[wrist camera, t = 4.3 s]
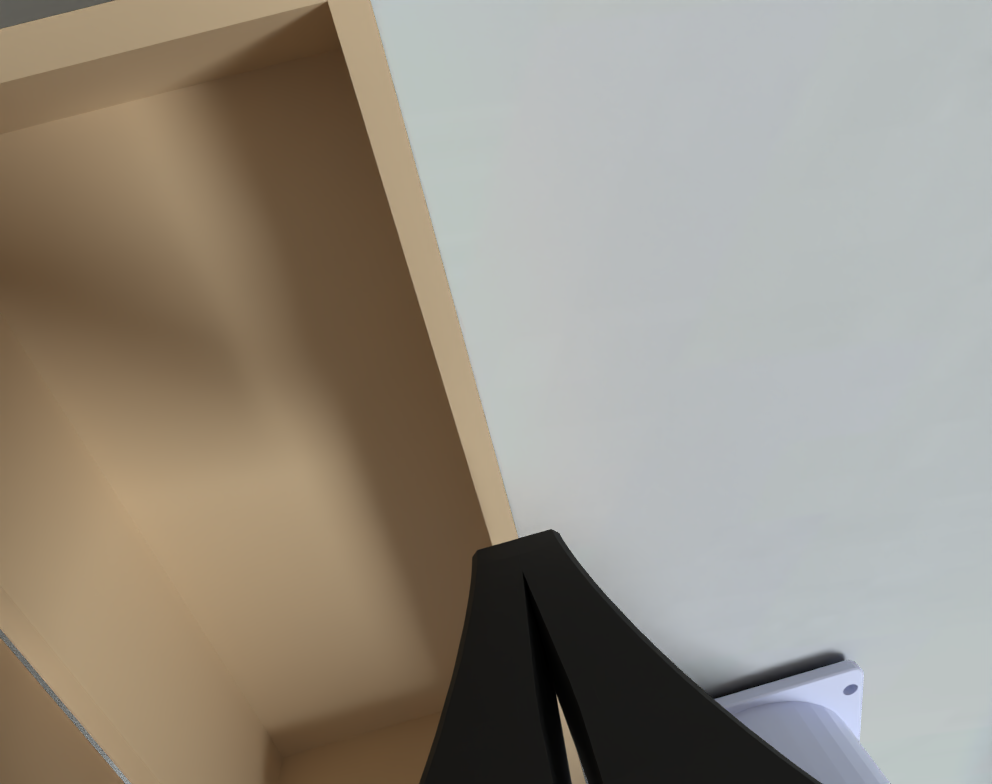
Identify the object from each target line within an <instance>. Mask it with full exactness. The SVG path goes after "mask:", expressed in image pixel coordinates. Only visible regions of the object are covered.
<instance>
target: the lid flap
mask: <svg viewBox="0 0 992 784" xmlns="http://www.w3.org/2000/svg"><path fill="white" fill-rule="evenodd" d="M0 784H125V783H124V782H123V781H122V779H121V778H120V777H119V776H118V775H117V774H116V772H115V771H114V770H113V769H112V768H111V767H110V765H109V764H108V763H107V762H106V761H105V760H104V758H103V757H102V756H101V755H100V754H99V753H98V751H97V750H96V749H95V748H94V747H93V746H92V744H91V743H90V742H89V741H88V740H87V739H86V737H85V736H84V735H83V734H82V733H81V732H80V730H79V729H78V728H77V727H76V726H75V724H74V723H73V722H72V721H71V720H70V719H69V717H68V716H67V715H66V714H65V713H64V712H63V710H62V709H61V708H60V707H59V706H58V705H57V703H56V702H55V701H54V700H53V699H52V698H51V696H50V695H49V694H48V693H47V692H46V691H45V689H44V688H43V687H42V686H41V685H40V684H39V682H38V681H37V680H36V679H35V678H34V677H33V675H32V674H31V673H30V672H29V671H28V670H27V668H26V667H25V666H24V665H23V664H22V662H21V661H20V660H19V659H18V658H17V657H16V655H15V654H14V653H13V652H12V651H11V650H10V648H9V647H8V646H7V645H6V644H5V643H4V641H3V640H2V639H1V638H0Z"/></svg>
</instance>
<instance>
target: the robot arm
mask: <svg viewBox="0 0 992 784" xmlns="http://www.w3.org/2000/svg"><path fill="white" fill-rule="evenodd" d="M863 681H864V673H863V670H862V669H861V668H860V667H859V666H858V664H857V663H855V662H854V661H850V660H846V661H841V662H838V663H835V664H831V665H828V666H825V667H821V668H818V669H814V670H811V671H808V672H804V673H801V674H797V675H794V676H791V677H787V678H784V679H781V680H777V681H774V682H770V683H767V684H764V685H760V686H757V687H754V688H750V689H747V690H743V691H740V692H737V693H733V694H730V695H727V696H723V697H720V698H716V699H713V698H712V697H711V696H709V695H708V694H707V693H706V692H705V691H704V690H702V689H701V688H700V687H699V686H698V685H697V684H696V683H695V682H693V681H692V680H691V679H690V678H689V677H688V676H687V675H686V674H684V673H683V672H682V671H681V670H680V669H679V668H678V667H677V666H676V665H675V664H674V663H673V662H672V661H671V660H669V659H668V658H667V657H666V656H665V655H664V654H663V653H662V652H661V651H660V650H659V649H658V648H657V647H656V646H655V645H654V644H653V643H652V642H651V641H650V640H649V639H648V638H647V637H646V636H645V635H644V634H643V633H641V632H640V631H639V630H638V629H637V628H636V626H635V625H634V624H633V623H632V622H631V621H630V620H629V619H628V618H627V617H626V616H625V615H624V614H623V613H622V612H621V611H620V609H619V608H618V607H617V606H616V605H615V604H614V603H613V602H612V601H611V600H610V599H609V598H608V597H607V596H606V594H605V593H604V592H603V591H602V590H601V589H600V588H599V586H598V585H597V584H596V583H595V582H594V580H593V579H592V578H591V577H590V576H589V574H588V573H587V572H586V571H585V570H584V568H583V567H582V566H581V564H580V563H579V562H578V561H577V559H576V558H575V557H574V555H573V554H572V553H571V551H570V550H569V548H568V547H567V545H566V544H565V542H564V541H563V539H562V537H561V536H560V534H559V533H558V532H556V531H554V530H552V529H550V530H547V531H543V532H540V533H536V534H533V535H529V536H525V537H522V538H518V539H515V540H511V541H508V542H504V543H500V544H497V545H493V546H490V547H486V548H483V549H479V550H477V551H476V553H475V554H474V555H473V557H472V572H471V583H470V591H469V598H468V604H467V609H466V615H465V621H464V626H463V630H462V635H461V639H460V644H459V648H458V653H457V657H456V662H455V666H454V670H453V674H452V678H451V682H450V685H449V689H448V692H447V696H446V699H445V703H444V706H443V710H442V713H441V717H440V720H439V724H438V727H437V731H436V734H435V737H434V740H433V743H432V746H431V750H430V753H429V756H428V759H427V762H426V765H425V768H424V771H423V773H422V776H421V779H420V782H419V784H572V781H571V776H570V770H569V764H568V759H567V753H566V747H565V742H564V736H563V730H562V725H561V719H560V713H559V708H558V702H557V698H558V700H559V703H560V706H561V709H562V711H563V714H564V717H565V720H566V722H567V725H568V728H569V731H570V733H571V736H572V739H573V742H574V744H575V747H576V750H577V753H578V755H579V758H580V761H581V764H582V766H583V769H584V772H585V775H586V777H587V780H588V783H589V784H891V783H890V782H889V781H888V779H887V778H886V776H885V775H884V774H883V772H882V771H881V770H880V768H879V767H878V766H877V764H876V763H875V762H874V760H873V759H872V758H871V756H870V755H869V754H868V752H867V751H866V750H865V748H864V747H863V746H862V744H861V743H860V727H861V712H862V696H863ZM556 695H557V696H556Z"/></svg>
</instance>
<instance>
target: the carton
mask: <svg viewBox="0 0 992 784" xmlns="http://www.w3.org/2000/svg"><path fill="white" fill-rule="evenodd" d="M515 539H518V535H517V531H516V528H515V524H514V521H513V517H512V513H511V510H510V506H509V502H508V499H507V495H506V492H505V488H504V484H503V481H502V477H501V473H500V470H499V466H498V462H497V459H496V455H495V452H494V448H493V444H492V441H491V437H490V433H489V430H488V426H487V423H486V419H485V415H484V412H483V408H482V404H481V401H480V397H479V393H478V390H477V386H476V383H475V379H474V375H473V372H472V368H471V364H470V361H469V357H468V354H467V350H466V346H465V343H464V339H463V335H462V332H461V328H460V325H459V321H458V317H457V314H456V310H455V306H454V303H453V299H452V295H451V292H450V288H449V285H448V281H447V277H446V274H445V270H444V266H443V263H442V259H441V256H440V252H439V248H438V245H437V241H436V237H435V234H434V230H433V226H432V223H431V219H430V216H429V212H428V208H427V205H426V201H425V197H424V194H423V190H422V187H421V183H420V179H419V176H418V172H417V168H416V165H415V161H414V158H413V154H412V150H411V147H410V143H409V139H408V136H407V132H406V128H405V125H404V121H403V118H402V114H401V110H400V107H399V103H398V99H397V96H396V92H395V89H394V85H393V81H392V78H391V74H390V70H389V67H388V63H387V60H386V56H385V52H384V49H383V45H382V41H381V38H380V34H379V30H378V27H377V23H376V20H375V16H374V12H373V9H372V5H371V1H370V0H115V1H111V2H107V3H103V4H98V5H94V6H90V7H86V8H82V9H78V10H74V11H70V12H66V13H62V14H58V15H54V16H50V17H46V18H42V19H38V20H34V21H30V22H26V23H22V24H18V25H14V26H10V27H6V28H2V29H0V629H1V630H2V631H3V632H4V634H5V635H6V636H7V637H8V638H9V640H10V641H11V642H12V643H13V644H14V645H15V647H16V648H17V649H18V650H19V651H20V653H21V654H22V655H23V656H24V657H25V658H26V660H27V661H28V662H29V663H30V664H31V666H32V667H33V668H34V669H35V670H36V671H37V673H38V674H39V675H40V676H41V677H42V679H43V680H44V681H45V682H46V683H47V684H48V686H49V687H50V688H51V689H52V690H53V692H54V693H55V694H56V695H57V696H58V697H59V699H60V700H61V701H62V702H63V703H64V705H65V706H66V707H67V708H68V709H69V710H70V712H71V713H72V714H73V715H74V716H75V717H76V719H77V720H78V721H79V722H80V723H81V725H82V726H83V727H84V728H85V729H86V730H87V732H88V733H89V734H90V735H91V736H92V738H93V739H94V740H95V741H96V742H97V743H98V745H99V746H100V747H101V748H102V749H103V751H104V752H105V753H106V754H107V755H108V756H109V758H110V759H111V760H112V761H113V762H114V764H115V765H116V766H117V767H118V768H119V769H120V771H121V772H122V773H123V774H124V775H125V777H126V778H127V779H128V780H129V781H130V782H131V784H419V782H420V779H421V776H422V773H423V771H424V768H425V765H426V762H427V759H428V756H429V753H430V750H431V746H432V743H433V740H434V737H435V734H436V731H437V727H438V724H439V720H440V717H441V713H442V710H443V706H444V703H445V699H446V696H447V692H448V689H449V685H450V682H451V678H452V674H453V670H454V666H455V662H456V657H457V653H458V648H459V644H460V639H461V635H462V630H463V626H464V621H465V615H466V609H467V604H468V598H469V591H470V583H471V572H472V557H473V555H474V554H475V553H476V551H477V550H479V549H483V548H486V547H490V546H493V545H497V544H500V543H504V542H508V541H511V540H515ZM556 696H557V695H556ZM557 702H558V708H559V713H560V719H561V725H562V730H563V736H564V742H565V747H566V753H567V759H568V764H569V770H570V776H571V781H572V784H586V782H585V778H584V775H583V771H582V767H581V764H580V760H579V757H578V753H577V750H576V747H575V744H574V742H573V739H572V736H571V733H570V731H569V728H568V725H567V722H566V720H565V717H564V714H563V711H562V709H561V706H560V703H559V700H558V698H557Z"/></svg>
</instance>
